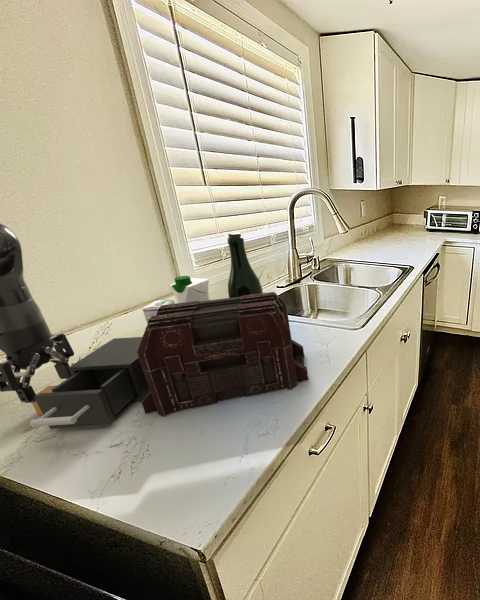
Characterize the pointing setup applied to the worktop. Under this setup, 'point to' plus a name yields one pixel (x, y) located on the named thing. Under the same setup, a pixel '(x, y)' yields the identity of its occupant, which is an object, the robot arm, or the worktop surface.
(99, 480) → the worktop surface
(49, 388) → the orange block
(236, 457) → the worktop surface
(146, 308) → the syrup box
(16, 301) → the robot arm
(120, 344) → the dark grey box shell
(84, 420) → the drawer
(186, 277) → the milk carton
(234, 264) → the beer bottle
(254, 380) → the crate
